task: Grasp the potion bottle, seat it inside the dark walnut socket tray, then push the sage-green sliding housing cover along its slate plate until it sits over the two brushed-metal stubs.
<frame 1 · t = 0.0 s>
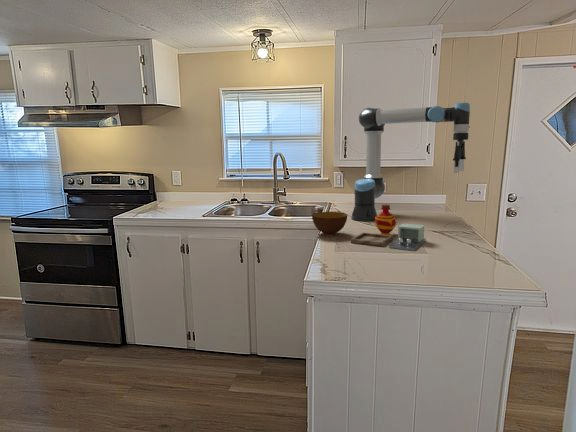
hand: (458, 172, 222), 28 cm above the worktop, fingers open, 13 cm apart
potion bottle: (384, 235, 201), on the worktop
housing: (411, 232, 186), point 4 cm above the worktop, slide at 0.0 cm
bowl: (329, 234, 205), on the worktop
socket tray: (372, 241, 189), on the worktop
stub plate: (407, 244, 182), on the worktop
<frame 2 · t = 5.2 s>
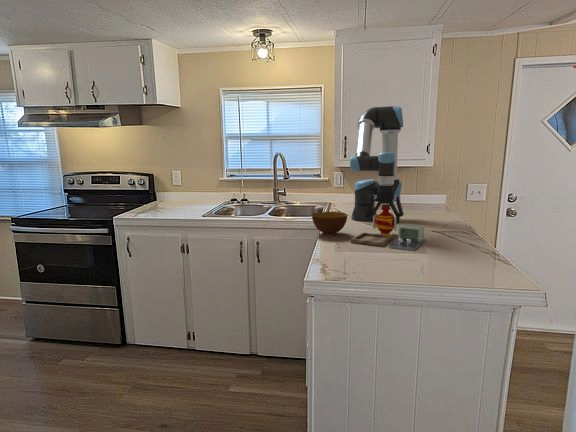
hand: (385, 229, 200), 3 cm above the worktop, fingers closed on potion bottle, 10 cm apart
potion bottle: (384, 235, 201), on the worktop, touching gripper
everything else where it was.
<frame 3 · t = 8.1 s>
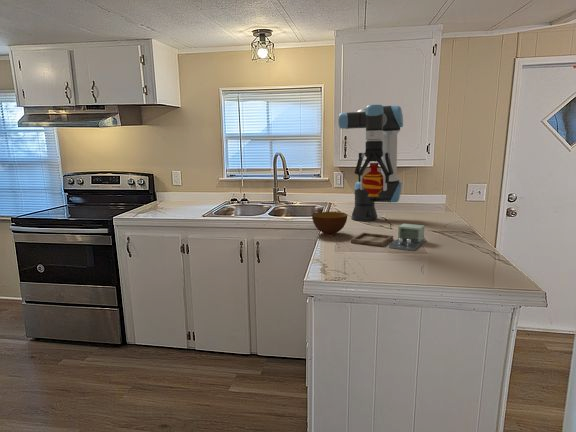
hand: (373, 189, 185), 24 cm above the worktop, fingers closed on potion bottle, 10 cm apart
potion bottle: (373, 196, 185), point 21 cm above the worktop, touching gripper
everything else where it was.
when the fingers open (5 cm above the worktop, at t = 10.9 s): potion bottle drops 1 cm, resting on socket tray.
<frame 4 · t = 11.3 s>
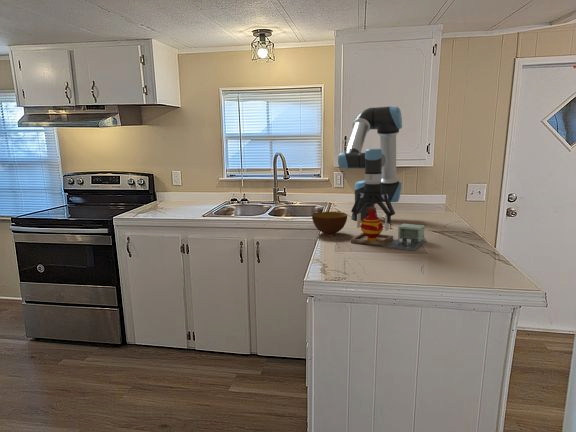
hand: (372, 228, 188), 6 cm above the worktop, fingers open, 13 cm apart
potion bottle: (371, 240, 189), resting on socket tray
everything else where it was.
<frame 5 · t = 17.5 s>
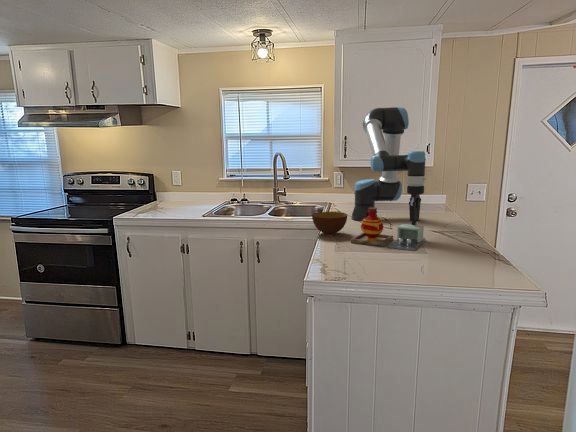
hand: (414, 235, 190), 2 cm above the worktop, fingers closed
housing: (410, 233, 184), point 4 cm above the worktop, slide at 1.3 cm, touching gripper
everything else where it was.
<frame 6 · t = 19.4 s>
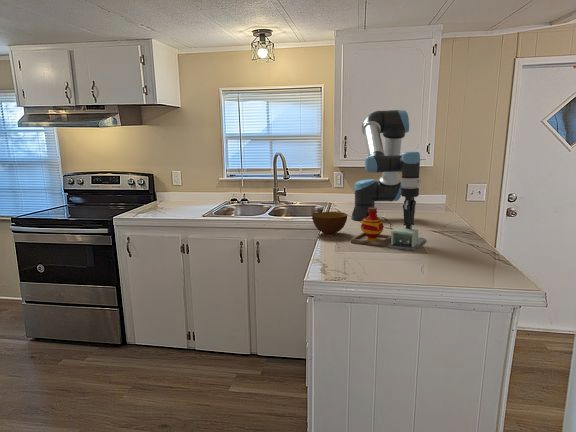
hand: (408, 239, 182), 2 cm above the worktop, fingers closed
housing: (404, 237, 177), point 4 cm above the worktop, slide at 10.3 cm, touching gripper
everything else where it was.
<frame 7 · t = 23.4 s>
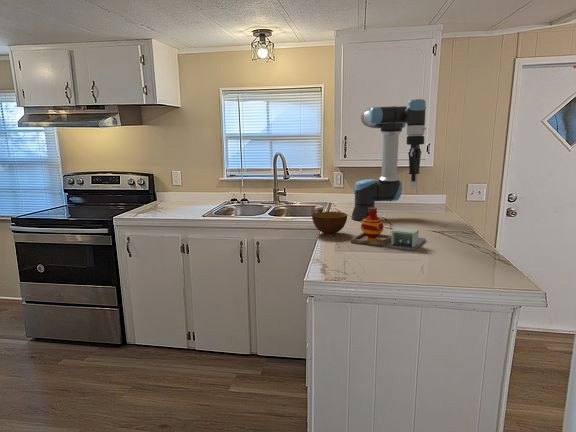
hand: (413, 188, 184), 24 cm above the worktop, fingers closed
housing: (404, 237, 177), point 4 cm above the worktop, slide at 10.0 cm
everything else where it was.
at the end: potion bottle 0.3 cm from the socket tray (horizontally); potion bottle tilted 0°; housing slide at 10.0 cm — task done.
